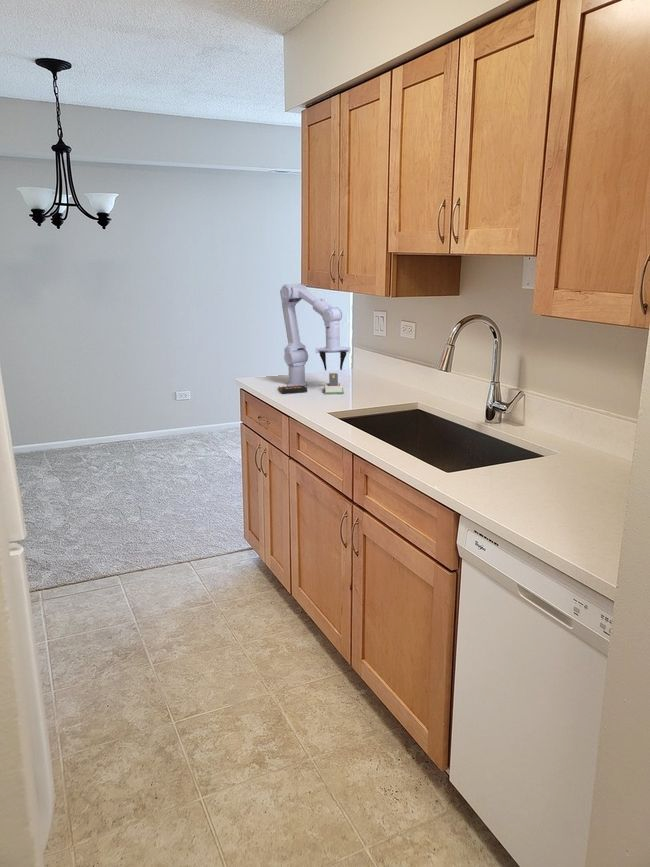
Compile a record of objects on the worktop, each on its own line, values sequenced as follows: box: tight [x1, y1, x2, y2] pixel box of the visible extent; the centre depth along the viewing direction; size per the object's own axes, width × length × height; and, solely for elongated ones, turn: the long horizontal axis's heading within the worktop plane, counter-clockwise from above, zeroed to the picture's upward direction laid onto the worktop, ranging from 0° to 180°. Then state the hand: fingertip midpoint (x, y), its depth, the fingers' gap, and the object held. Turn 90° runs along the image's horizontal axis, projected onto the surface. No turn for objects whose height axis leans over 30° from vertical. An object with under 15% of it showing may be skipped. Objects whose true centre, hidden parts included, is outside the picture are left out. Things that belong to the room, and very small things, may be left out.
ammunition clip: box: [277, 385, 308, 395], centre depth 284 cm, size 11×2×12 cm
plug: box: [328, 372, 339, 386], centre depth 279 cm, size 4×4×7 cm
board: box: [323, 382, 345, 395], centre depth 280 cm, size 10×8×3 cm
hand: (333, 369), depth 277 cm, fingers open, 6 cm apart
